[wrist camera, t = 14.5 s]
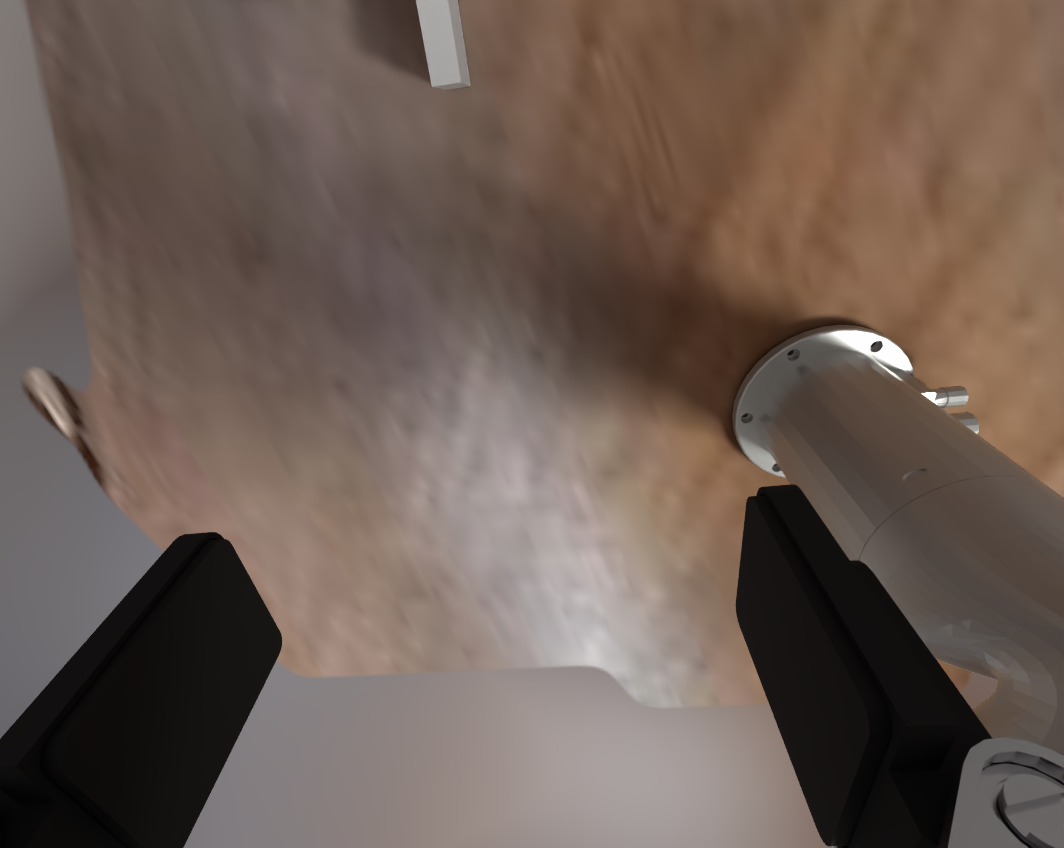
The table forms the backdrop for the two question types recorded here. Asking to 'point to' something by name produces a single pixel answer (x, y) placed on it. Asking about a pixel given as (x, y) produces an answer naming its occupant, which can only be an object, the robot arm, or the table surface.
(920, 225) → the table surface
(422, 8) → the low wall
